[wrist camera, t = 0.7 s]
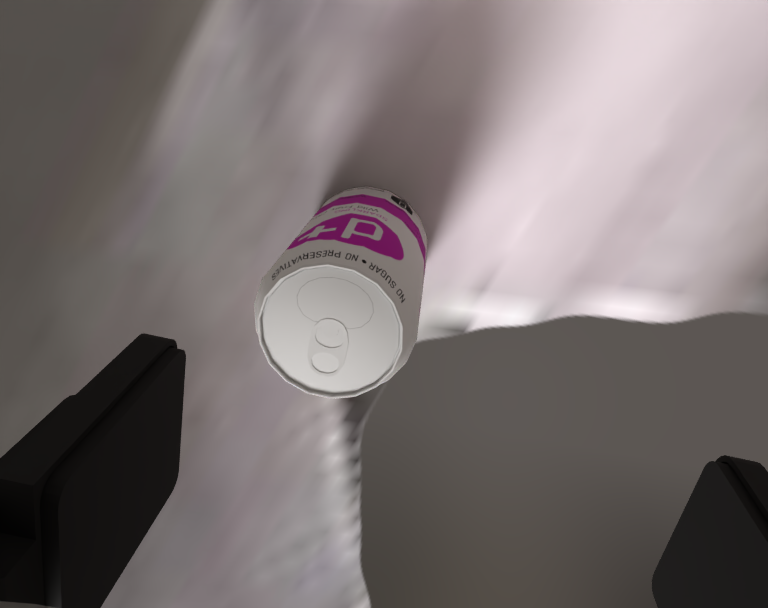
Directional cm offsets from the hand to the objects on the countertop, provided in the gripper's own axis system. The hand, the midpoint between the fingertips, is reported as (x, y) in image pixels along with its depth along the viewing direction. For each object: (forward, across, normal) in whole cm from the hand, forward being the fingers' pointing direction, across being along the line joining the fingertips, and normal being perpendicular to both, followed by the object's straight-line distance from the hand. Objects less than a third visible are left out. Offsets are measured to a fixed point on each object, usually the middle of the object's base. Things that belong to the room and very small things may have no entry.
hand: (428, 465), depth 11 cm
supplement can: (+32, +4, +7) cm, 33 cm away
